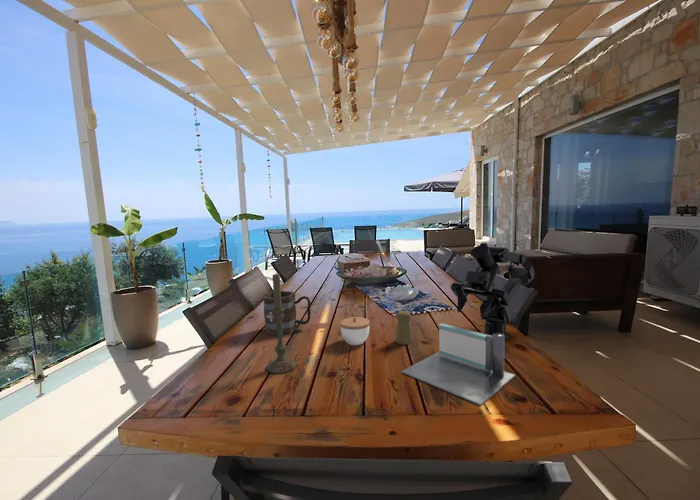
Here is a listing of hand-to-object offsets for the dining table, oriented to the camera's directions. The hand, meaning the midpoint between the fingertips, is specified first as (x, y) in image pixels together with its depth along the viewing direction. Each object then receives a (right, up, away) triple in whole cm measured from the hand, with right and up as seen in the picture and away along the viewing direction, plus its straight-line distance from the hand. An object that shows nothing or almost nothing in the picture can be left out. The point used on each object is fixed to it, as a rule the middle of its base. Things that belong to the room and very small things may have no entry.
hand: (469, 314), depth 108 cm
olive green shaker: (-19, -12, +12) cm, 26 cm away
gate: (-4, -13, -8) cm, 16 cm away
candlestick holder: (-60, -16, -5) cm, 63 cm away
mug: (-65, -12, +29) cm, 72 cm away
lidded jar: (-37, -13, +13) cm, 41 cm away
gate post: (-8, -15, -13) cm, 21 cm away
